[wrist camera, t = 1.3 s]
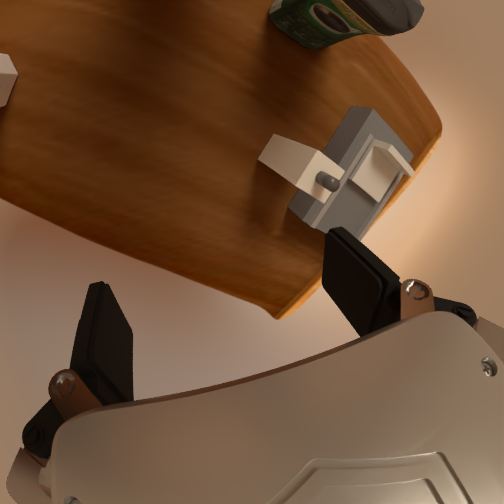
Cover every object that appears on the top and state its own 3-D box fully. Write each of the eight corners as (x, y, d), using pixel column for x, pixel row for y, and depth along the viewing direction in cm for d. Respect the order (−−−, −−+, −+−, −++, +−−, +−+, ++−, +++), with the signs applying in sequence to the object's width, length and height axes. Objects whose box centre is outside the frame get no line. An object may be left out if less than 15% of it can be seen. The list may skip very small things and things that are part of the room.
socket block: (352, 105, 34) (377, 109, 30) (393, 148, 40) (417, 157, 35) (287, 206, 41) (305, 223, 36) (338, 235, 46) (357, 252, 42)
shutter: (373, 138, 33) (391, 144, 29) (398, 164, 36) (415, 172, 33) (348, 178, 35) (365, 187, 32) (375, 200, 38) (391, 210, 35)
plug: (273, 133, 34) (330, 155, 22) (296, 148, 36) (358, 177, 24) (257, 159, 35) (306, 193, 24) (281, 173, 38) (336, 212, 26)
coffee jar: (339, 24, 27) (439, 7, 12) (314, 58, 29) (416, 48, 14) (287, -15, 22) (371, -65, 7) (257, 18, 25) (336, -34, 10)
